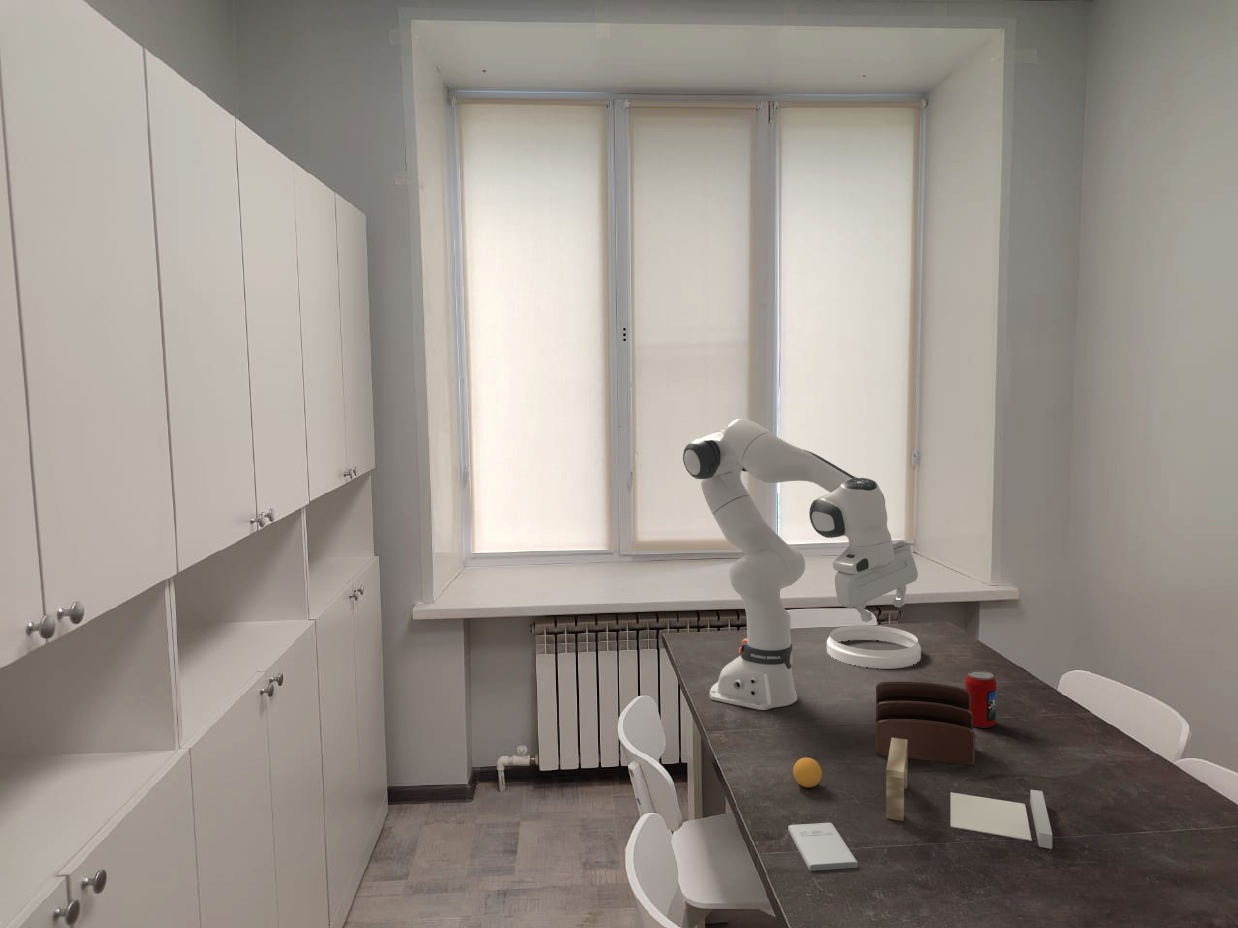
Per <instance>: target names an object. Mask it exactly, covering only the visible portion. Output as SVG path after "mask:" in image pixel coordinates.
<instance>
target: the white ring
mask: <svg viewBox="0 0 1238 928" xmlns="http://www.w3.org/2000/svg"><path fill="white" fill-rule="evenodd" d="M848 640H850V641H876V640H879V641H878V642H885V641H886V642H885V643H891V644H896V645H900V646H903V647H905V648H900V649H892V650H891V649H885V650H883V649H882V650H881V649H866V648H860V647H854V646H851V645H850V646H849V645H847V644H843V643H842V642H841V641H843V642H848ZM838 642H839V643H838ZM826 653H827V655H828V654H829V655H830V656H831V658H832V657H833V658H834V660H835V659H837V660H839V661H838V662H840V661H841V663H843V662H844V663H843V664H846V663H847V665H849V664H851V665H850V666H854V665H856V666H855V667H859V666H860V668H866V667H868V669H877V668H878V669H881V670H882V669H884V670H885V669H886V670H889V669H891V670H892V669H902V668H907V667H911V666H914V665H916V664H918V663H919V662H920V661H921V659H922V647H921V645H920V644H919V640H918V637H917V636H915V634H913V633H911V632H909V631H906V630H903V629H900V628H899V629H898V628H895V627H889V626H883V625H872V624H855V625H854V624H852V625H846V626H845V625H844V626H841V627H838V628H836V629H833V630H832V631H831V632H830V633H829V637H828V638H827V639H826ZM829 655H828V656H829ZM830 656H829V657H830ZM833 658H832V659H833ZM837 660H836V661H837ZM917 662H918V663H917ZM913 664H914V665H913Z"/></svg>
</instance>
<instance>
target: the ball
mask: <svg viewBox="0 0 1238 928" xmlns="http://www.w3.org/2000/svg"><path fill="white" fill-rule="evenodd" d="M792 771H793V772H792V773H793V778H794V779H795V781H796V782H797V783H798V785H800V786H801V787H804V788H813V787H815V786H817V785H818V784H819V783H820V781H821V780H822V777H823V772H822V768H821V766H820V764H819V763H818V762H817V760H815V759H814V758H811V757H802V758H799V759H798V760H797V761H796V762H795V763H794V765H793V768H792Z"/></svg>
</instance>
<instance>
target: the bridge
mask: <svg viewBox="0 0 1238 928" xmlns="http://www.w3.org/2000/svg"><path fill="white" fill-rule="evenodd" d="M907 742H908V740H906V739H899V738H891V744H890V750H889V756H887V764H886V767H885V768H886V769H885V775H886V776H885V779H886V780H885V781H886V782H885V796H886V797H885V819H891V820H896V821H900V822H901V821H902V822H904V818H905V811H904V810H905V790H907V789H908V758H907Z"/></svg>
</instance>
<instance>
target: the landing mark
mask: <svg viewBox="0 0 1238 928" xmlns="http://www.w3.org/2000/svg"><path fill="white" fill-rule="evenodd" d="M949 798H950V799H949V801H950V828H955V829H960V830H966V831H972V832H978V833H982V834H983V833H984V834H989V835H996V836H1000V837H1007V838H1013V839H1018V840H1023V841H1030V842H1032V840H1033V839H1032V835H1031V829H1030V824H1029V819H1028V813H1027V812H1028V811H1027V807H1026V803H1023V802H1022V803H1021V802H1014V801H1009V800H1002V799H996V798H990V797H982V796H978V795H977V796H975V795H969V794H965V793H963V794H962V793H957V792H952V791H951V792H950V797H949Z"/></svg>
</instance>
